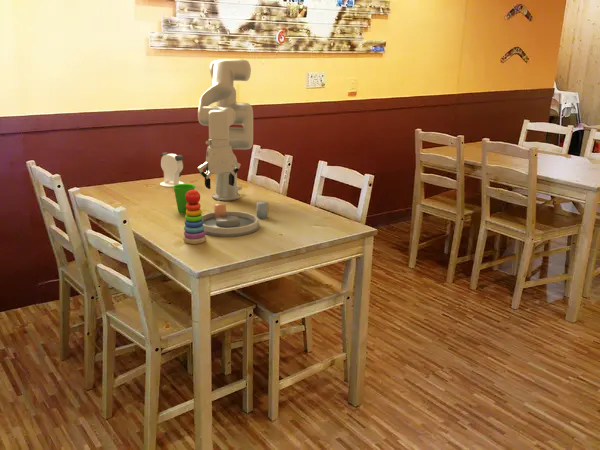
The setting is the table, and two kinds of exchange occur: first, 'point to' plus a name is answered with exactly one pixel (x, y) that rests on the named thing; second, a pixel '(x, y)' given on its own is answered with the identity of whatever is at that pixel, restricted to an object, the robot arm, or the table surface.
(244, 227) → the groove tray
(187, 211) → the stacking toy
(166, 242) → the table surface
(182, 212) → the cup
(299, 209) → the table surface
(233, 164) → the robot arm
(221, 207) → the salmon orange block
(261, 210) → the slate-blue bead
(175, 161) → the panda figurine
